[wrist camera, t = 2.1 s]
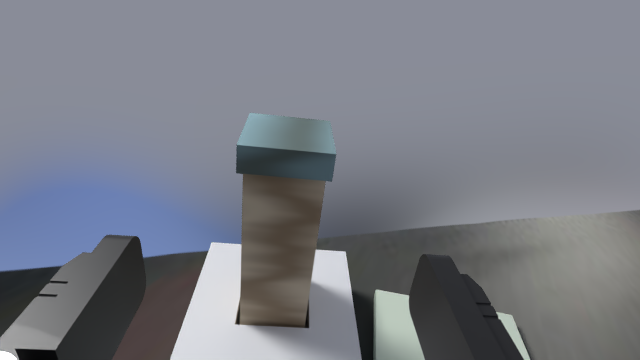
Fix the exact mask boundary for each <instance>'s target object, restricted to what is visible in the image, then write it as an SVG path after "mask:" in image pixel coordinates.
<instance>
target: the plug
mask: <svg viewBox="0 0 640 360" xmlns="http://www.w3.org/2000/svg"><path fill="white" fill-rule="evenodd" d="M335 158H336V151H335V145H334V140H333V134H332V128H331V123H330V121H324V120H314V119H304V118H295V117H285V116H275V115H265V114H256V113H250V114H249V116H248V119H247V121H246V124H245V126H244V128H243V131H242V133H241V136H240V138H239V140H238V143H237V163H236V165H237V167H236V173H240V174H243V199H242V200H243V201H242V202H243V203H242V243H241V289H240V325H255V326H275V327H295V328H305V321H306V314H307V307H308V300H309V293H310V286H311V279H312V272H313V265H314V258H315V251H316V245H317V238H318V230H319V224H320V217H321V210H322V203H323V196H324V189H325V182H326V181H332V178H333V171H334V165H335Z"/></svg>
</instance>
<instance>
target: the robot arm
mask: <svg viewBox="0 0 640 360" xmlns="http://www.w3.org/2000/svg"><path fill="white" fill-rule="evenodd" d="M145 288H146V275H145V269H144V262H143V256H142V249H141V243H140V239H139V238H138V237H137V236H121V235H106V236H105V237H104V238H103V239H102V240H101V242H100V243H99V244H98V245H97V247H96V248H95V249H94V250H93V252H92V253H82V254H80V255H78V256H77V257H75V258H74V259H72V260H71V261H69V262H68V263H66V264H65V265H63V266H62V268H61V269H60V270H59V271H58V272H57V273H56V274H55V276H54V277H53V278H52V279H51V280H50V284H47V285H46V286H45V287H44V288H43V289H42V291H41V292H40V293H39V296H38V297H36V298H35V299H34V300H33V301H32V302H31V303H30V304H29V306H28V307H27V308H26V309H25V310H24V311H23V313H22V314H21V315H20V316H19V317H18V318H17V319H16V321H15V322H14V323H13V324H12V325H11V326H10V328H9V329H8V330H7V331H6V332H5V333H4V334H3V336H2V337H1V338H0V360H112V358H113V356H114V354H115V352H116V350H117V348H118V346H119V344H120V342H121V340H122V339H123V337H124V335H125V333H126V331H127V329H128V327H129V325H130V323H131V321H132V319H133V317H134V315H135V313H136V311H137V310H138V308H139V306H140V304H141V302H142V299H143V297H144V293H145ZM409 310H410V315H411V318H412V321H413V324H414V327H415V330H416V333H417V337H418V340H419V343H420V346H421V349H422V352H423V355H424V358H425V360H524V359H523V357H522V355H521V353H520V352H519V350H518V348H517V347H516V345H515V343H514V342H513V340H512V338H511V337H510V335H509V333H508V331H507V330H506V328H505V326H504V325H503V323H502V321H501V320H500V319H498V315H497V313H496V311H495V309H494V308H493V306H491V303H490V301H489V299H488V298H487V296H486V294H485V293H484V291H483V289H482V288H481V287H480V286H479V285H478V284H477V283H476V282H475V281H474V280H473V279H472V278H470V277H469V276H468V275H467V274H460V273H459V271H458V269H457V267H456V266H455V264H454V262H453V260H452V258H451V257H450V256H445V255H428V254H423V255H422V256H421V257H420V259H419V263H418V266H417V269H416V273H415V276H414V280H413V283H412V287H411V290H410V294H409Z"/></svg>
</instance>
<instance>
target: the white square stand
mask: <svg viewBox="0 0 640 360" xmlns="http://www.w3.org/2000/svg"><path fill="white" fill-rule="evenodd" d="M240 289H241V244H226V243H213V242H212V243H211V246H210V249H209V252H208V255H207V257H206V260H205V263H204V266H203V269H202V271H201V274H200V277H199V280H198V283H197V285H196V288H195V291H194V294H193V297H192V300H191V302H190V305H189V308H188V311H187V314H186V316H185V319H184V322H183V325H182V328H181V330H180V333H179V336H178V339H177V342H176V345H175V347H174V350H173V353H172V356H171V359H170V360H362V358H361V352H360V345H359V338H358V332H357V325H356V319H355V312H354V305H353V299H352V292H351V285H350V279H349V272H348V265H347V259H346V252H341V251H327V250H316V251H315V258H314V265H313V272H312V279H311V286H310V293H309V300H308V307H307V314H306V321H305V328H295V327H275V326H255V325H240Z"/></svg>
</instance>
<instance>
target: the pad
mask: <svg viewBox="0 0 640 360" xmlns="http://www.w3.org/2000/svg"><path fill="white" fill-rule="evenodd" d="M496 313H497V315H498V319H500V320H501V321H502V323H503V325H504V326H505V328H506V330H507V331H508V333H509V335H510V337H511V338H512V340H513V342H514V343H515V345H516V347H517V348H518V350H519V352H520V353H521V355H522V357H523V359H524V360H530V358H529V355H528V353H527V351H526V348H525V346H524V343H523V341H522V339H521V336H520V334H519V331H518V329H517V327H516V324H515V322H514V319H513V317H512V315H508V314H503V313H498V312H496ZM373 360H425V358H424V355H423V352H422V349H421V346H420V343H419V340H418V337H417V333H416V330H415V327H414V324H413V321H412V318H411V315H410V310H409V296H408V295H402V294H397V293H392V292H386V291H381V290H376V291H375V295H374V347H373Z"/></svg>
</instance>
